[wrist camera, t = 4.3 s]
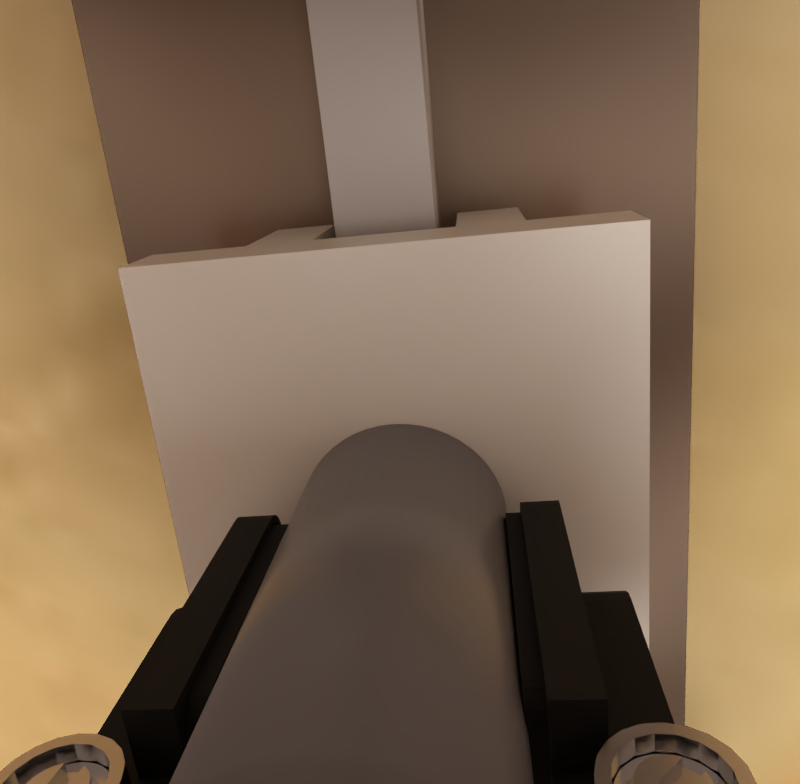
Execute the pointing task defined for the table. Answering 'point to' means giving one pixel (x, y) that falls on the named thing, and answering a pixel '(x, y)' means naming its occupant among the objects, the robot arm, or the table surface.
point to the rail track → (422, 154)
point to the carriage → (396, 474)
